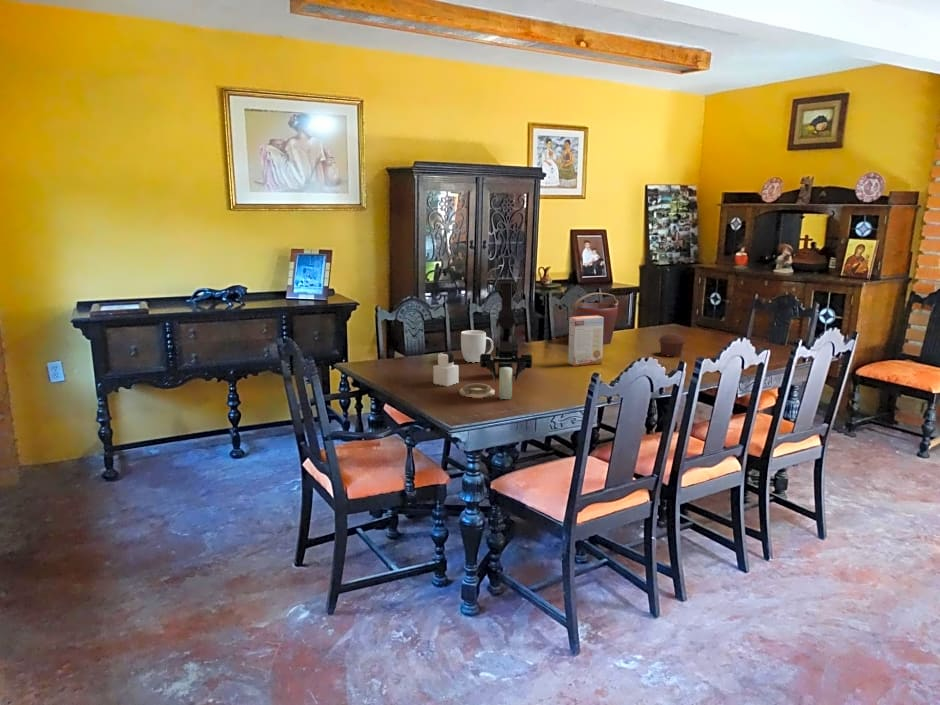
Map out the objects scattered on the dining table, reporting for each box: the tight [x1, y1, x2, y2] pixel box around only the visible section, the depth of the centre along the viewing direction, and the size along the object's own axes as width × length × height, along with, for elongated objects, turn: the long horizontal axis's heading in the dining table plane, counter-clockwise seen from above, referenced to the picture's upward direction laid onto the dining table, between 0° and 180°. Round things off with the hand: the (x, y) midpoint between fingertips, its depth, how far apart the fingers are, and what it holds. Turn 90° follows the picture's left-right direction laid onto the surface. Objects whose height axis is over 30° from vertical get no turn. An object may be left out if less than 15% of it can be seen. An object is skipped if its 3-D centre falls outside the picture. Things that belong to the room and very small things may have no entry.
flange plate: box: [458, 382, 496, 399], centre depth 251 cm, size 13×13×4 cm
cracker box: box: [567, 315, 604, 367], centre depth 296 cm, size 14×6×21 cm, turn 109°
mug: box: [460, 329, 494, 364], centre depth 302 cm, size 15×11×13 cm
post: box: [498, 367, 513, 400], centre depth 244 cm, size 5×5×11 cm
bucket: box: [572, 292, 619, 346], centre depth 343 cm, size 24×22×25 cm
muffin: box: [658, 332, 686, 357], centre depth 316 cm, size 12×11×10 cm
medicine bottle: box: [432, 351, 460, 387], centre depth 264 cm, size 7×7×12 cm
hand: (505, 380), depth 243 cm, fingers open, 7 cm apart
